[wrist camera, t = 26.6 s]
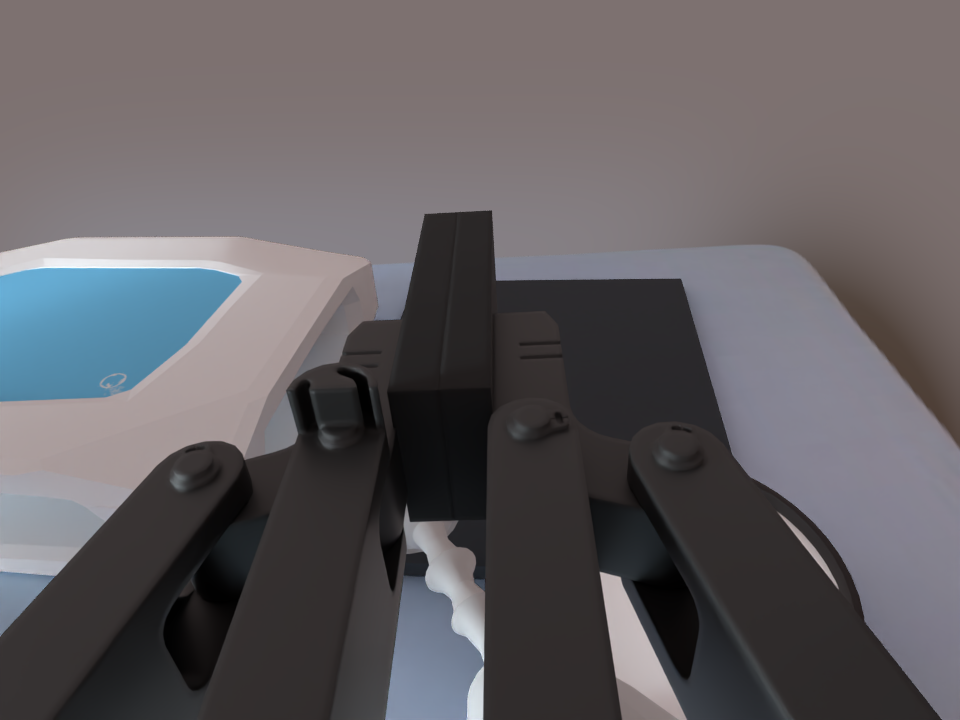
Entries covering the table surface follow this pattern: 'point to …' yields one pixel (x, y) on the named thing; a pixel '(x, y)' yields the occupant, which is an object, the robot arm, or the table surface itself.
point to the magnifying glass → (633, 645)
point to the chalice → (468, 600)
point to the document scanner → (150, 367)
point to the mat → (612, 366)
